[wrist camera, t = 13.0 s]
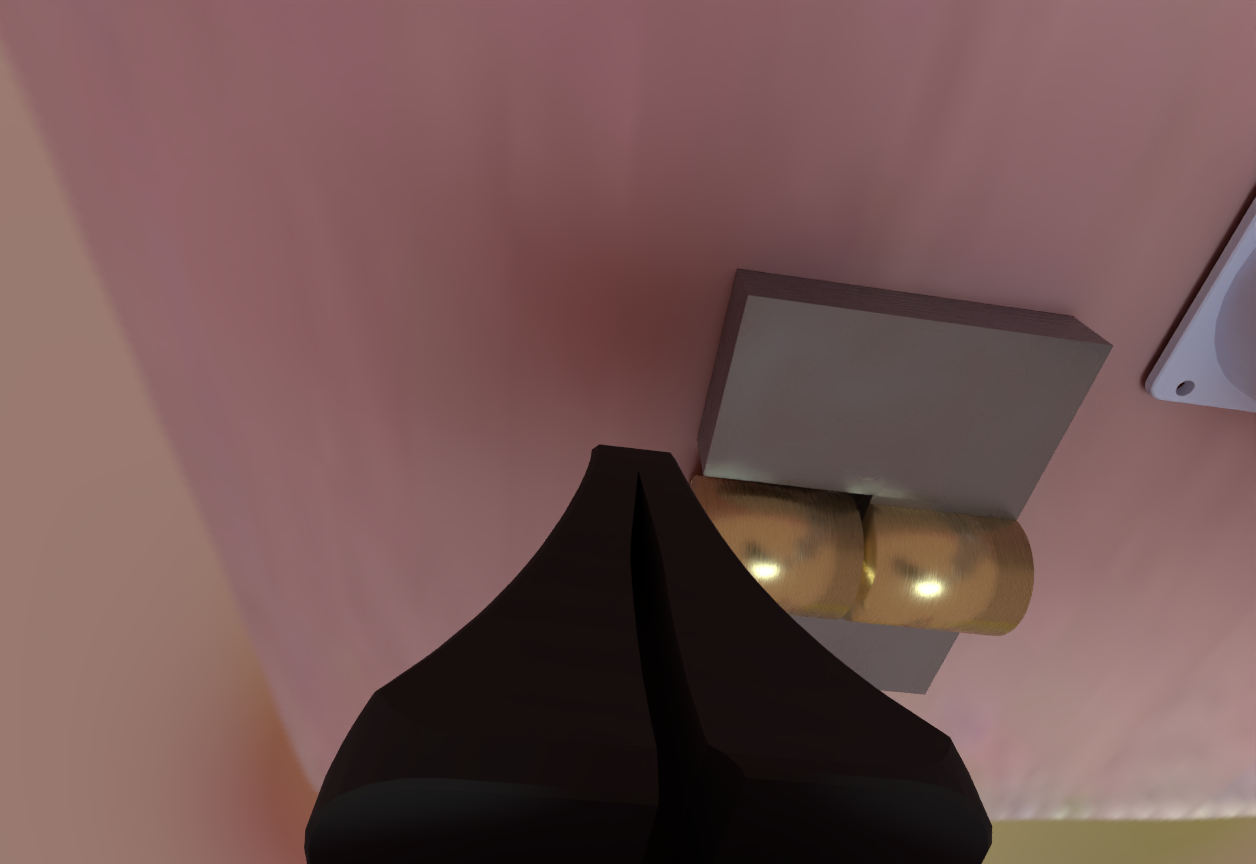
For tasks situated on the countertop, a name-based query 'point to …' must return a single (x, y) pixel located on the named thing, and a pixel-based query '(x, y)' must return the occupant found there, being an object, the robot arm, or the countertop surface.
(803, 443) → the fixed leaf
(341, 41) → the countertop surface
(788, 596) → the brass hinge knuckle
